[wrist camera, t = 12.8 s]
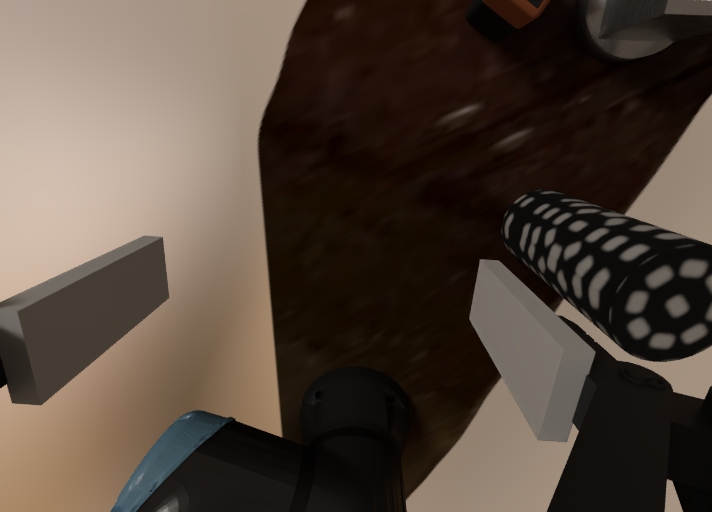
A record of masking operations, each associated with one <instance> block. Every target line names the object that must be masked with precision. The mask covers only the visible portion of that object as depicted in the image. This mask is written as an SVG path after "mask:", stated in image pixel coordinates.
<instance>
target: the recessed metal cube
mask: <svg viewBox="0 0 712 512" xmlns="http://www.w3.org/2000/svg"><path fill="white" fill-rule="evenodd" d="M710 32H712V0H606V4H605V9H604V13H603V18H602V22H601V26H600V31H599V35H598V39H604V40H630V41H656V42H677V41H681V40H684V39H688V38H692V37H695V36H699V35H702V34H706V33H710Z"/></svg>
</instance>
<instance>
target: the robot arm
mask: <svg viewBox="0 0 712 512" xmlns="http://www.w3.org/2000/svg"><path fill="white" fill-rule="evenodd" d="M168 298H169V292H168V282H167V273H166V264H165V254H164V245H163V237H154V236H143V237H140V238H138V239H136V240H134V241H132V242H130V243H127V244H125V245H123V246H121V247H119V248H117V249H115V250H112V251H110V252H108V253H106V254H104V255H101V256H100V257H97V258H95V259H93V260H91V261H89V262H86V263H84V264H82V265H80V266H78V267H75V268H73V269H71V270H69V271H67V272H65V273H62V274H60V275H58V276H56V277H54V278H52V279H50V280H47V281H45V282H43V283H41V284H39V285H37V286H35V287H32V288H30V289H28V290H26V291H24V292H22V293H19V294H17V295H15V296H13V297H11V298H8V299H6V300H4V301H2V302H0V388H2V387H3V386H4V385H6V384H7V387H8V390H9V393H10V397H11V401H12V403H16V404H30V405H42V404H43V403H44V402H46V401H47V400H48V399H49V398H50V397H52V396H53V395H54V394H55V393H56V392H57V391H59V390H60V389H61V388H62V387H64V386H65V385H66V384H67V383H68V382H69V381H71V380H72V379H73V378H74V377H75V376H77V375H78V374H79V373H80V372H81V371H83V370H84V369H85V368H86V367H87V366H89V365H90V364H91V363H92V362H93V361H94V360H96V359H97V358H98V357H99V356H100V355H102V354H103V353H104V352H105V351H106V350H108V349H109V348H110V347H111V346H112V345H114V344H115V343H116V342H117V341H118V340H120V339H121V338H122V337H123V336H124V335H125V334H127V333H128V332H129V331H130V330H131V329H133V328H134V327H135V326H136V325H137V324H139V323H140V322H141V321H142V320H143V319H145V318H146V317H147V316H148V315H149V314H151V312H153V311H154V310H155V309H156V308H158V307H159V306H160V305H161V304H162V303H163V302H165V301H166V300H167V299H168ZM469 319H470V321H471V323H472V325H473V326H474V328H475V330H476V332H477V333H478V335H479V337H480V339H481V341H482V342H483V344H484V346H485V348H486V349H487V351H488V353H489V355H490V356H491V358H492V360H493V362H494V364H495V365H496V367H497V369H498V371H499V372H500V374H501V376H502V378H503V379H504V381H505V383H506V385H507V386H508V388H509V390H510V392H511V394H512V395H513V397H514V399H515V401H516V402H517V404H518V406H519V407H520V409H521V411H522V413H523V415H524V417H525V418H526V420H527V422H528V423H529V425H530V427H531V428H532V431H533V432H534V434H535V436H536V438H537V440H543V441H558V442H567V440H568V437H569V434H570V431H571V428H572V424H574V425H575V426H576V428H577V429H578V430H579V433H578V435H577V438H576V440H575V443H574V446H573V448H572V451H571V453H570V455H569V458H568V460H567V463H566V465H565V468H564V470H563V473H562V475H561V478H560V480H559V483H558V485H557V488H556V490H555V493H554V495H553V498H552V500H551V502H550V505H549V507H548V510H547V512H664V510H665V497H666V483H667V479H669V480H672V481H673V484H674V486H675V490H676V492H677V495H678V498H679V501H680V504H681V507H682V510H683V512H712V386H711V387H710V388H709V391H708V393H707V395H706V397H705V399H700V398H695V397H691V396H687V395H683V394H679V393H675V392H673V389H672V387H671V384H670V383H669V382H668V381H667V380H665V379H664V378H663V377H662V376H660V375H658V374H657V373H655V372H653V371H652V370H649V369H647V368H645V367H642V366H640V365H636V364H633V363H629V362H623V361H617V360H616V359H615V358H613V356H611V355H610V354H609V353H608V352H607V351H606V350H604V348H602V347H601V346H600V345H599V344H598V343H597V342H594V339H592V338H591V337H590V336H589V335H586V332H585V331H583V330H582V329H581V328H580V327H579V326H578V325H577V324H575V323H574V322H572V321H570V320H568V319H566V318H565V317H563V316H557V315H556V314H555V313H554V312H553V311H552V310H551V309H550V308H548V307H547V306H546V305H545V304H544V303H543V302H542V301H541V300H540V299H539V298H538V297H537V296H536V295H535V294H534V293H533V292H532V291H530V290H529V289H528V288H527V287H526V286H525V285H524V284H523V283H522V282H521V281H520V280H519V279H518V278H517V277H516V276H515V275H514V274H512V273H511V272H510V271H509V270H508V269H507V268H506V267H505V266H504V265H503V264H502V263H501V262H500V261H496V260H482V259H480V264H479V269H478V275H477V280H476V286H475V291H474V296H473V302H472V307H471V313H470V318H469ZM299 424H300V430H301V436H302V441H303V445H301V444H298V443H296V442H293V441H290V440H287V439H285V438H282V437H279V436H276V435H273V434H271V433H268V432H265V431H262V430H259V429H256V428H254V427H251V426H248V425H246V424H243V423H240V422H237V421H235V419H234V418H233V417H228V418H226V417H222V416H219V415H215V414H212V413H209V412H205V411H201V410H196V411H192V412H188V413H186V414H184V415H183V416H181V417H180V418H178V419H177V420H176V421H175V422H174V423H173V424H172V425H171V426H170V427H169V428H168V429H167V430H166V431H165V432H164V433H163V434H162V436H161V437H160V438H159V439H158V440H157V442H156V443H155V444H154V445H153V447H152V448H151V449H150V451H149V452H148V453H147V455H146V456H145V457H144V459H143V460H142V461H141V463H140V464H139V465H138V467H137V469H136V470H135V472H134V473H133V474H132V476H131V477H130V479H129V480H128V482H127V483H126V485H125V486H124V488H123V490H122V491H121V493H120V495H119V496H118V499H117V502H116V504H115V505H114V507H113V508H112V510H111V511H110V512H407V510H406V501H405V492H404V483H403V474H402V465H401V458H402V454H403V451H404V447H405V444H406V440H407V436H408V433H409V428H410V415H409V408H408V402H407V399H406V397H405V395H404V393H403V391H402V390H401V388H400V387H399V386H398V385H397V384H396V383H395V382H394V381H393V380H392V379H391V378H389V377H388V376H386V375H384V374H382V373H380V372H378V371H375V370H372V369H368V368H362V367H345V368H339V369H336V370H332V371H330V372H327V373H325V374H324V375H322V376H320V377H319V378H317V379H316V380H315V381H314V382H313V383H312V384H311V385H310V386H309V388H308V389H307V391H306V393H305V395H304V397H303V401H302V405H301V409H300V415H299Z"/></svg>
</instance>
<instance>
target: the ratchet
mask: <svg viewBox="0 0 712 512" xmlns="http://www.w3.org/2000/svg"><path fill="white" fill-rule="evenodd" d="M605 4H606V0H576V2H575V9H574V22H575V28H576V32H577V35H578V38H579V40H580V42H581V43H582V45H583V46H584V48H585V49H586V50H587V51H588V52H589V53H590V54H592V55H593V56H595V57H596V58H598V59H601V60H604V61H607V62H624V61H629V60H633V59H637V58H641V57H645V56H648V55H652V54H654V53H657V52H659V51H661V50H663V49H664V48H666V47H668V46H669V45H671V44H672V43H673V42H656V41H630V40H604V39H598V35H599V31H600V26H601V22H602V18H603V13H604V9H605Z"/></svg>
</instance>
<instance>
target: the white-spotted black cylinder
mask: <svg viewBox="0 0 712 512" xmlns="http://www.w3.org/2000/svg"><path fill="white" fill-rule="evenodd" d="M502 238H503V241H504V243H505V245H506V247H507V248H508V249H509V250H510V252H511V253H513V254H514V255H515V256H516V257H517V258H518V259H519V260H521V261H522V262H523V263H524V264H525V265H526V266H528V267H529V268H530V269H531V270H532V271H533V272H534V273H536V274H537V275H538V276H539V277H540V278H541V279H542V280H544V281H545V282H546V283H547V284H548V285H549V286H550V287H552V288H553V289H554V290H555V291H556V292H557V293H559V294H560V295H561V296H562V297H563V298H564V299H565V300H567V301H568V302H569V303H570V304H571V305H572V306H574V307H575V308H576V309H577V310H578V311H579V312H580V313H582V314H583V315H584V316H585V317H586V318H587V319H588V320H590V321H591V322H592V323H593V324H594V325H595V326H596V327H598V328H599V329H600V330H601V331H602V332H603V333H604V334H606V335H607V336H608V337H609V338H610V339H611V340H613V341H614V342H615V343H616V344H617V345H618V346H619V347H621V348H622V349H623V350H624V351H626V352H627V353H629V354H630V355H632V356H635V357H637V358H640V359H642V360H648V361H653V362H667V361H674V360H680V359H683V358H687V357H689V356H693V355H695V354H697V353H699V352H701V351H704V350H705V349H707V348H709V347H710V346H711V345H712V245H710V244H707V243H704V242H701V241H698V240H696V239H693V238H690V237H686V236H684V235H681V234H678V233H675V232H672V231H669V230H666V229H663V228H660V227H657V226H655V225H652V224H649V223H646V222H643V221H640V220H637V219H634V218H631V217H628V216H625V215H622V214H620V213H617V212H614V211H611V210H608V209H605V208H602V207H599V206H596V205H593V204H590V203H587V202H585V201H582V200H579V199H576V198H573V197H570V196H567V195H564V194H561V193H558V192H555V191H551V190H538V191H533V192H530V193H528V194H525V195H524V196H522V197H520V198H519V199H518V200H517V201H515V202H514V203H513V204H512V205H511V207H510V208H509V209H508V211H507V213H506V214H505V216H504V219H503V222H502Z"/></svg>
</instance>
